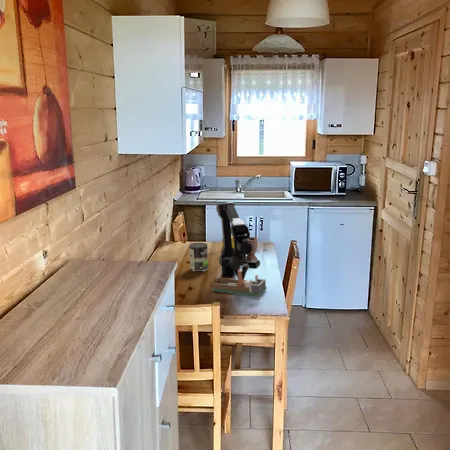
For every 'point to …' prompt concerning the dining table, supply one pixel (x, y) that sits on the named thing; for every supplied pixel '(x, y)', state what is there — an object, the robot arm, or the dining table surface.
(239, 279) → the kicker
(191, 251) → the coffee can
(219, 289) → the pitch
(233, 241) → the supplement box
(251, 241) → the mortar and pestle
